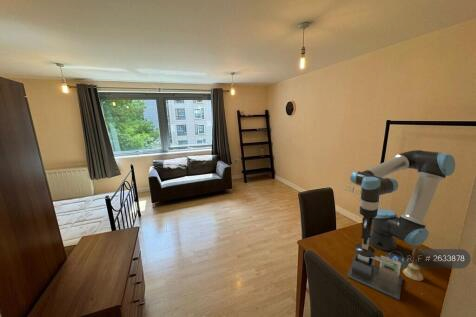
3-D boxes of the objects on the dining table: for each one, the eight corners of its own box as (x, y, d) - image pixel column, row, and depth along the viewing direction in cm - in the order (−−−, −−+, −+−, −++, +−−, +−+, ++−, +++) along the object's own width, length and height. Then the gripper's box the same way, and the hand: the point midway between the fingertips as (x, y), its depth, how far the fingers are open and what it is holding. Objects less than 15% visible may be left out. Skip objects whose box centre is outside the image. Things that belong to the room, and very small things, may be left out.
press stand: (354, 260, 118) (356, 239, 115) (402, 278, 103) (405, 256, 100) (346, 276, 106) (348, 254, 104) (399, 300, 92) (402, 275, 89)
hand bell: (399, 272, 108) (402, 246, 104) (408, 266, 111) (412, 241, 107) (417, 283, 100) (422, 255, 97) (427, 277, 103) (431, 250, 100)
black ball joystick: (356, 255, 113) (357, 241, 111) (393, 269, 102) (395, 254, 100) (351, 264, 107) (353, 249, 105) (391, 280, 96) (393, 264, 94)
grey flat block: (384, 265, 100) (384, 264, 100) (394, 269, 97) (394, 268, 97) (384, 267, 99) (384, 266, 99) (394, 271, 96) (394, 270, 96)
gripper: (362, 201, 107) (359, 239, 112) (357, 210, 98) (353, 251, 103) (379, 204, 102) (375, 245, 107) (375, 214, 93) (370, 258, 98)
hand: (364, 248), depth 105 cm, fingers closed
